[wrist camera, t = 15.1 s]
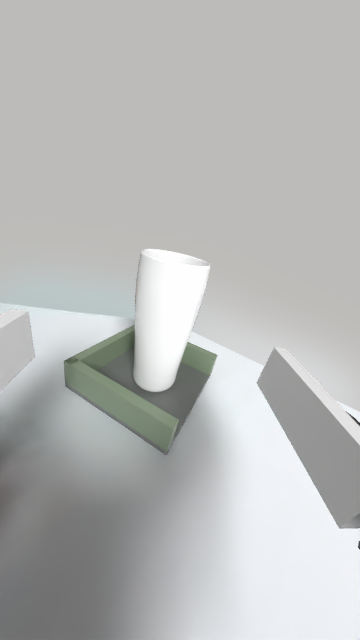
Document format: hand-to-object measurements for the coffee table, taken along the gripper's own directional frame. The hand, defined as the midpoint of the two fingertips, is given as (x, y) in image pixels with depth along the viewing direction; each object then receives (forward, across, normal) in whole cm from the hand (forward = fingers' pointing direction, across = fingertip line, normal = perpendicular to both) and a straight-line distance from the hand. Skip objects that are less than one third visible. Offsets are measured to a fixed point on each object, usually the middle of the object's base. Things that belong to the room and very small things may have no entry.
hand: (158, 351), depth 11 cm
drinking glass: (+10, +1, -11) cm, 15 cm away
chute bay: (+10, 0, -12) cm, 15 cm away
